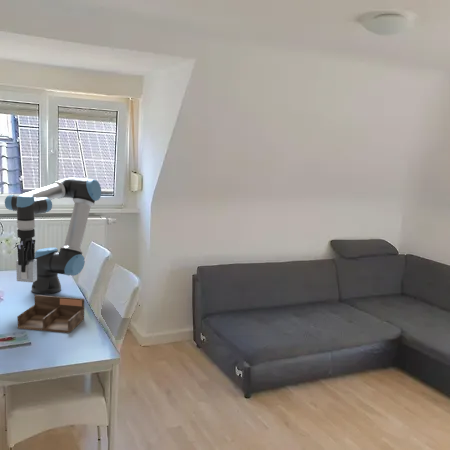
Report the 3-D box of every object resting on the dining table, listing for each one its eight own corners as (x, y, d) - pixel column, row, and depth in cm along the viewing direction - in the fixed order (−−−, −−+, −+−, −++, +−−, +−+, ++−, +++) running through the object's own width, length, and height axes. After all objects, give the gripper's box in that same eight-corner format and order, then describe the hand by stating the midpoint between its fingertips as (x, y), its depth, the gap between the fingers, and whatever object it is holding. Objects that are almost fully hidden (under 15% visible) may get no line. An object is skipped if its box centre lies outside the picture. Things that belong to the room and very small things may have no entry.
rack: (35, 315, 230) (35, 294, 228) (84, 319, 228) (84, 298, 226) (17, 328, 213) (17, 306, 212) (69, 332, 211) (69, 310, 210)
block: (20, 278, 234) (20, 258, 233) (37, 280, 234) (36, 259, 232) (16, 281, 230) (16, 260, 229) (33, 282, 230) (32, 261, 228)
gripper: (27, 225, 236) (27, 271, 240) (8, 231, 220) (9, 281, 224) (42, 226, 236) (42, 273, 240) (24, 232, 219) (25, 282, 223)
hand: (26, 277), depth 232 cm, fingers closed on block, 4 cm apart
